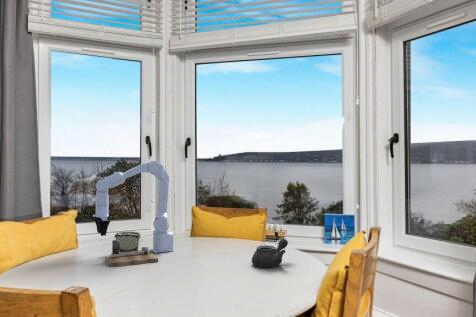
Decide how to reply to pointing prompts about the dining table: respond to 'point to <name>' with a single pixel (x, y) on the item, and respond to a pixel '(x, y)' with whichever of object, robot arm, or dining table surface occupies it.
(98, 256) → the dining table surface
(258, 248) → the teapot
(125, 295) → the dining table surface
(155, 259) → the walnut board
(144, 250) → the lever
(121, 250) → the food container
